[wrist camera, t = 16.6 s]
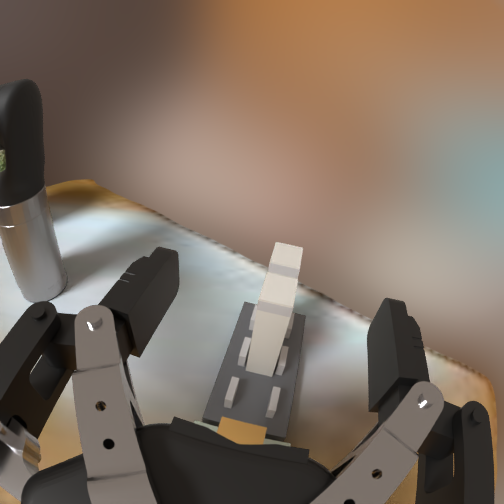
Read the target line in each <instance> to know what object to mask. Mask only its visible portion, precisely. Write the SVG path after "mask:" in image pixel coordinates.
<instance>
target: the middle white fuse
mask: <svg viewBox="0 0 504 504" xmlns="http://www.w3.org/2000/svg"><path fill="white" fill-rule="evenodd" d="M297 283H298V280H297V279H293V278H289V277H284V276H280V275H275V274H271V273H267V274H266V277H265V280H264V283H263V287H262V290H261V293H260V296H259V300H258V304H257V311H256V317H255V322H254V328H253V333H252V339H251V344H250V350H249V355H248V360H247V366H246V371H249V372H253V373H257V374H261V375H266V376H270V377H272V375H273V372H274V369H275V366H276V363H277V359H278V356H279V353H280V350H281V347H282V343H283V340H284V337H285V334H286V330H287V327H288V324H289V320H290V318H291V314H292V311H293V307H294V301H295V295H296V289H297Z"/></svg>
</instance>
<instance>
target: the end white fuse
mask: <svg viewBox="0 0 504 504" xmlns="http://www.w3.org/2000/svg"><path fill="white" fill-rule="evenodd" d="M302 251H303V248H302V247H297V246H293V245H288V244H284V243H279V242H276V244H275V247H274V250H273V254H272V257H271V261H270V264H269V269H268V273H271V274H275V275H280V276H284V277H289V278H293V279H297V278H298V274H299V270H300V264H301V258H302Z"/></svg>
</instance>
